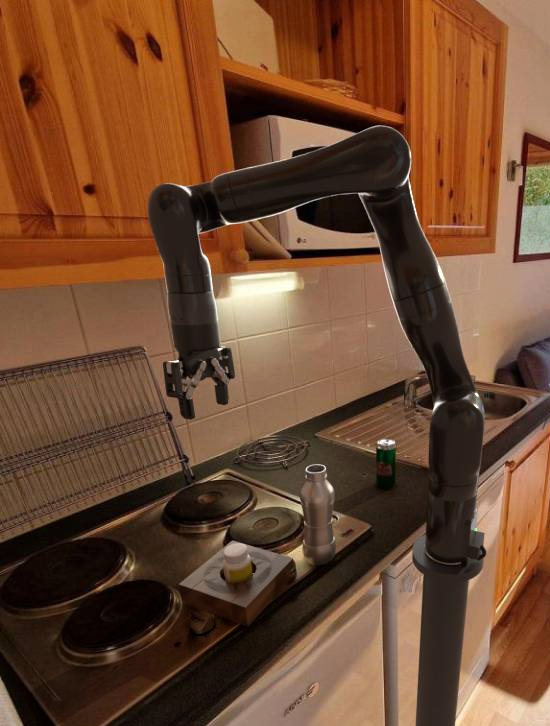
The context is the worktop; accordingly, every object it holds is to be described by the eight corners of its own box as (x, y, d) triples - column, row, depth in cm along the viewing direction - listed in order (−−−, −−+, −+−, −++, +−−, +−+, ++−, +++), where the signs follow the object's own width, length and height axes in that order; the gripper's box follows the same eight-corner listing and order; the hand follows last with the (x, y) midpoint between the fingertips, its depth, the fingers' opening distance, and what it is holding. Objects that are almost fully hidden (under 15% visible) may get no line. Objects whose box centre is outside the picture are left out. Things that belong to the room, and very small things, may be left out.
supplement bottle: (259, 585, 87) (255, 547, 84) (240, 601, 84) (234, 561, 80) (240, 576, 90) (235, 538, 86) (220, 591, 86) (215, 552, 83)
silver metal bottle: (296, 559, 95) (290, 468, 87) (323, 545, 99) (319, 457, 92) (316, 574, 90) (311, 480, 83) (343, 559, 95) (341, 468, 87)
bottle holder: (294, 575, 90) (293, 558, 89) (247, 626, 78) (245, 607, 77) (234, 557, 95) (232, 540, 94) (181, 602, 83) (178, 584, 82)
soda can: (373, 487, 122) (373, 444, 118) (379, 478, 127) (380, 437, 122) (392, 490, 121) (392, 447, 116) (397, 482, 125) (398, 439, 121)
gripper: (179, 327, 72) (194, 427, 78) (240, 315, 84) (248, 402, 90) (142, 324, 75) (159, 420, 81) (206, 312, 87) (217, 397, 93)
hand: (206, 411), depth 86 cm, fingers open, 8 cm apart
